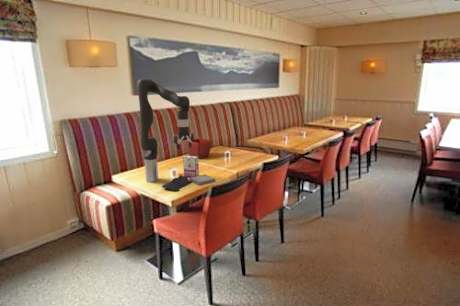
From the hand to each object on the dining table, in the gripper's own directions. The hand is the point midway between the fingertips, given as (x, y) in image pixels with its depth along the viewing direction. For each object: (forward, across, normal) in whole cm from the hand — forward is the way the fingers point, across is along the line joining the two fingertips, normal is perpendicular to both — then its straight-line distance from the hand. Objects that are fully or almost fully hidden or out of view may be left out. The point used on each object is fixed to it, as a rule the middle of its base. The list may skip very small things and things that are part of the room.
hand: (184, 148), depth 207 cm
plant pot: (+28, -48, -66) cm, 86 cm away
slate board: (+27, -13, 0) cm, 30 cm away
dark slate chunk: (+28, +6, -4) cm, 28 cm away
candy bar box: (+27, -12, -14) cm, 33 cm away
